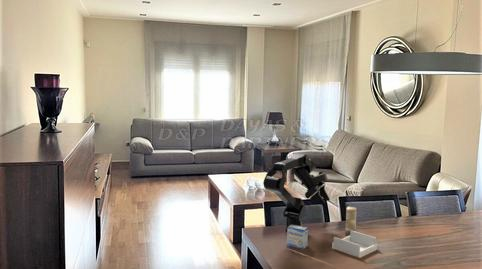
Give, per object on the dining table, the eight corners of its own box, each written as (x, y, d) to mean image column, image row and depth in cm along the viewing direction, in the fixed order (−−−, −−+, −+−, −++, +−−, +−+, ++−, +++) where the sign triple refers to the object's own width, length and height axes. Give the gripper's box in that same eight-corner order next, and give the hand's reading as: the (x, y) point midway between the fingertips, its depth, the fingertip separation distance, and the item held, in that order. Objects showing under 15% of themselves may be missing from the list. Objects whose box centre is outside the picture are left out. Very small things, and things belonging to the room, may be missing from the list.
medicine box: (286, 246, 176) (287, 226, 175) (290, 243, 180) (290, 224, 179) (304, 250, 172) (304, 230, 171) (307, 246, 176) (308, 227, 175)
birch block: (345, 236, 189) (346, 208, 187) (346, 233, 192) (347, 206, 191) (354, 237, 187) (355, 210, 186) (355, 235, 191) (356, 207, 190)
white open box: (332, 249, 173) (332, 236, 173) (349, 242, 182) (350, 229, 181) (360, 259, 163) (360, 245, 163) (377, 250, 172) (377, 238, 172)
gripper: (312, 170, 187) (336, 196, 184) (321, 163, 204) (343, 187, 201) (295, 185, 191) (318, 211, 188) (305, 177, 208) (326, 201, 205)
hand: (327, 202), depth 195 cm, fingers open, 9 cm apart
